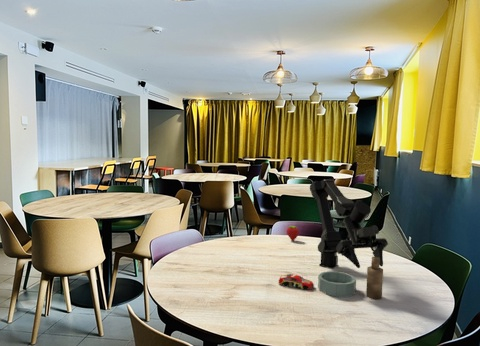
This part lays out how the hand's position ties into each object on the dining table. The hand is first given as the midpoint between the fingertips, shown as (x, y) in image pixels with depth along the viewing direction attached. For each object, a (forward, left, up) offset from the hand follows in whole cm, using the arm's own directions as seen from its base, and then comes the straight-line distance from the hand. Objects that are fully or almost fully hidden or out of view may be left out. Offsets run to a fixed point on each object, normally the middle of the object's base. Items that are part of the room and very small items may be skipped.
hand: (370, 266), depth 128 cm
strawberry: (-52, +52, -10) cm, 74 cm away
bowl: (-11, -3, -10) cm, 15 cm away
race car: (-25, -8, -10) cm, 28 cm away
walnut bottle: (+2, -2, -10) cm, 10 cm away
